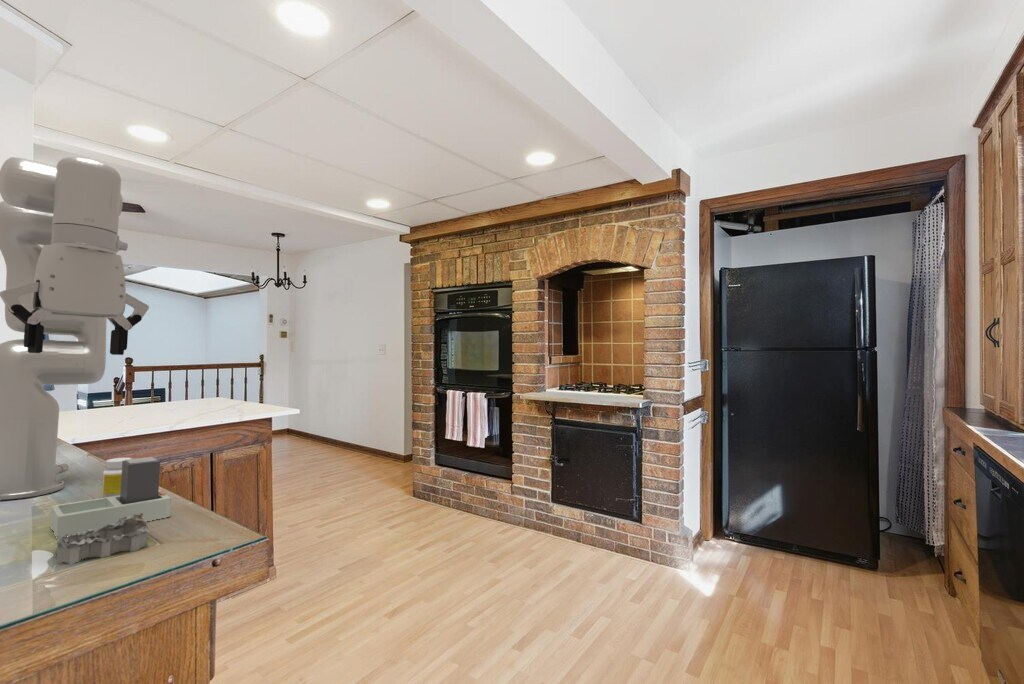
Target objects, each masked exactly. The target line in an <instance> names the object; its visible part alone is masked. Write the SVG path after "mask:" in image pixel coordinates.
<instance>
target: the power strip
mask: <svg viewBox="0 0 1024 684" xmlns="http://www.w3.org/2000/svg"><path fill="white" fill-rule="evenodd" d="M171 503H172V498H171V496H169V495H167V494H166V493H165V491H162V490H161V489H159V490H158V499H153V500H147V501H141V502H135V503H129V504H123V505H122V504H121V503H120V495H118V496H112V497H105V498H101V497H100V498H91V499H87V500H80V501H75V502H74V501H73V502H67V503H62V504H54V505H53V504H52V505H51V508H50V520H49V526H50V525H51V527H52V529H53V531H54V533H55V535H56V537H57V536H59V535H66V534H67V536H69V535H72V534H76V533H78V532H82V531H85V530H88V529H96V528H100V527H103V526H105V525H106V524H114V523H117V522H118V520H119V519H121V518H124V517H126V516H131V515H134V514H136V515H137V514H141V513H143V517H144V519H145V523H148V522H147V521H150V522H153V521H152V520H155V521H157V520H156V519H160V518H164V517H168V516H170V517H171V507H172V506H171ZM160 520H161V519H160ZM54 533H53V534H54ZM55 535H54V536H55ZM56 537H55V538H56Z"/></svg>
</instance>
